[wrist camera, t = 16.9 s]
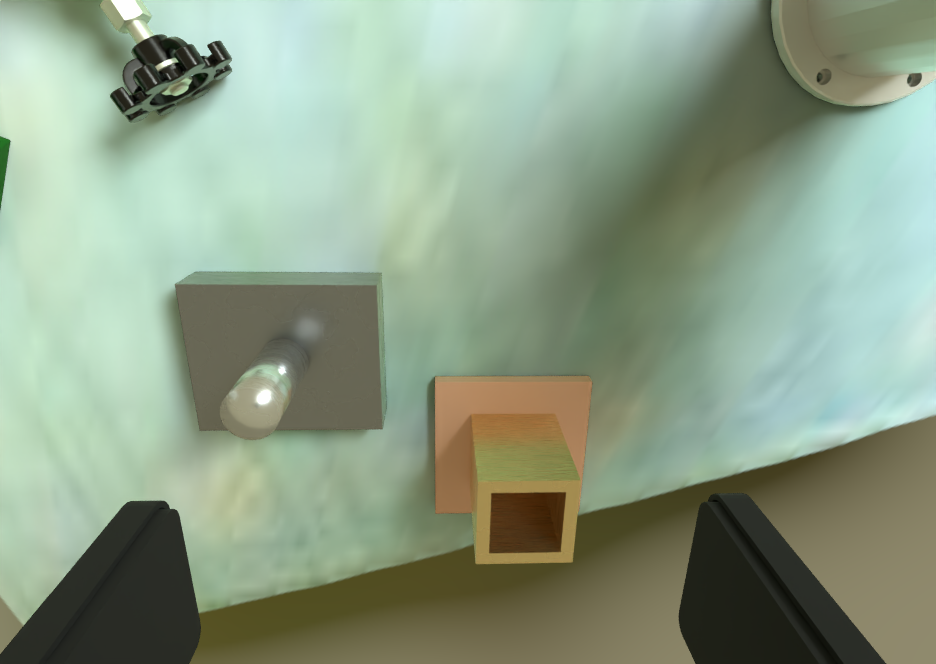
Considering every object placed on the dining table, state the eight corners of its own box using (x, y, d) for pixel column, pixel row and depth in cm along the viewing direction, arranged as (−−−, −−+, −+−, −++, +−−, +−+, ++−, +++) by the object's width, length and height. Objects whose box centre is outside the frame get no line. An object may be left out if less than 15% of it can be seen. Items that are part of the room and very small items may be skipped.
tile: (588, 375, 40) (592, 381, 40) (575, 503, 44) (578, 511, 43) (435, 376, 40) (435, 382, 39) (435, 505, 44) (435, 513, 43)
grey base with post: (381, 272, 37) (361, 324, 28) (386, 407, 41) (370, 493, 31) (195, 271, 37) (111, 323, 27) (216, 408, 40) (148, 496, 31)
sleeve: (555, 413, 40) (581, 480, 33) (549, 484, 42) (572, 562, 35) (471, 413, 40) (477, 481, 33) (469, 485, 42) (475, 564, 35)
